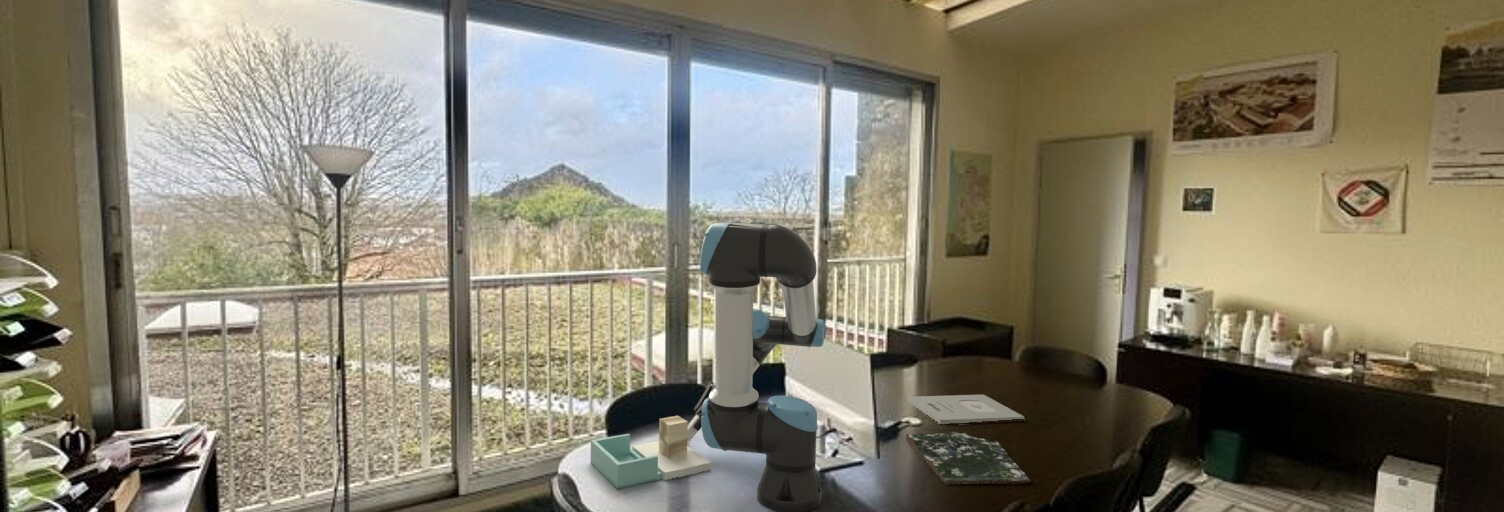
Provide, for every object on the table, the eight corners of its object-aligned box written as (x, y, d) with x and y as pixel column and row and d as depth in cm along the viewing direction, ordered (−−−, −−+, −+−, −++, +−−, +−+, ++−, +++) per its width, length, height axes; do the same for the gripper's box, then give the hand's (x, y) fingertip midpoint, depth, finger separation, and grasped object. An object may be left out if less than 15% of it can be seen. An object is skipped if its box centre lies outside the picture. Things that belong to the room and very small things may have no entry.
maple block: (686, 454, 174) (687, 421, 173) (668, 459, 171) (668, 425, 170) (677, 448, 179) (678, 415, 178) (658, 451, 176) (659, 418, 175)
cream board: (710, 470, 170) (710, 462, 170) (664, 480, 163) (664, 472, 163) (675, 444, 187) (675, 437, 186) (632, 453, 179) (632, 445, 179)
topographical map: (945, 487, 166) (946, 475, 165) (903, 439, 198) (903, 429, 198) (1043, 486, 168) (1044, 474, 168) (985, 439, 201) (986, 429, 201)
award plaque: (906, 402, 235) (907, 396, 234) (983, 400, 241) (983, 394, 241) (939, 426, 211) (940, 419, 210) (1024, 423, 217) (1024, 416, 217)
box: (661, 479, 163) (661, 455, 163) (617, 489, 157) (617, 464, 156) (631, 454, 178) (632, 433, 178) (590, 462, 172) (590, 440, 171)
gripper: (760, 383, 181) (705, 453, 174) (735, 371, 192) (683, 437, 184) (744, 366, 178) (687, 437, 170) (720, 355, 189) (665, 422, 181)
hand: (685, 437), depth 177 cm, fingers closed
